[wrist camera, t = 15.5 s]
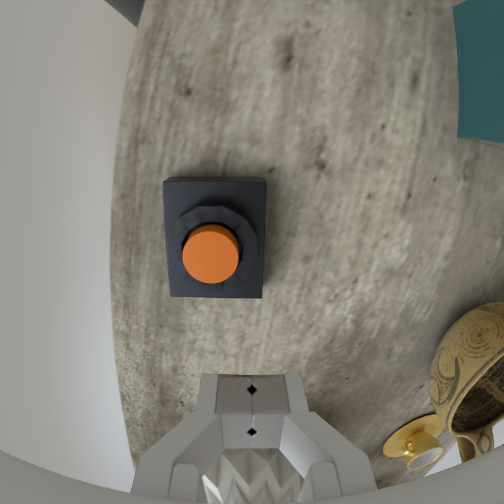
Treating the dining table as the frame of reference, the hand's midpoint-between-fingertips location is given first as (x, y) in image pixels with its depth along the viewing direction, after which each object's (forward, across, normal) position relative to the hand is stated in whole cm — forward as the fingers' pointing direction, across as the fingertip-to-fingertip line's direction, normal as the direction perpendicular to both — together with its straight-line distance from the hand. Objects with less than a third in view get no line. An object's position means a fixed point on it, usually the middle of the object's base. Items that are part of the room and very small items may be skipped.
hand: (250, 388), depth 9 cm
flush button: (+15, +3, +1) cm, 16 cm away
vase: (+19, 0, +31) cm, 37 cm away
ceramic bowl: (+19, -28, +14) cm, 37 cm away
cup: (+19, -28, +36) cm, 49 cm away
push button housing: (+19, +3, +1) cm, 19 cm away
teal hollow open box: (+19, -26, -16) cm, 37 cm away
